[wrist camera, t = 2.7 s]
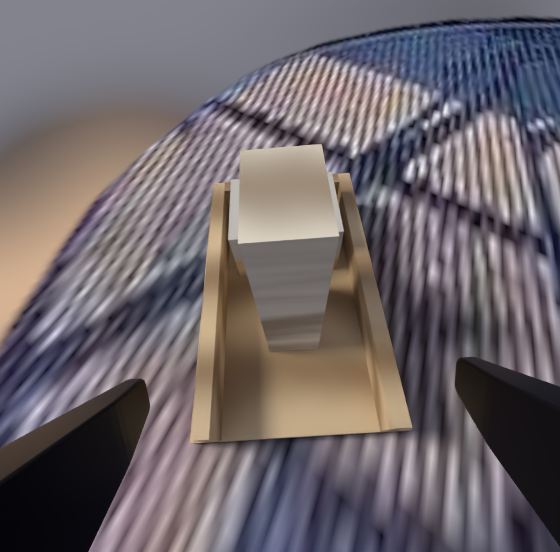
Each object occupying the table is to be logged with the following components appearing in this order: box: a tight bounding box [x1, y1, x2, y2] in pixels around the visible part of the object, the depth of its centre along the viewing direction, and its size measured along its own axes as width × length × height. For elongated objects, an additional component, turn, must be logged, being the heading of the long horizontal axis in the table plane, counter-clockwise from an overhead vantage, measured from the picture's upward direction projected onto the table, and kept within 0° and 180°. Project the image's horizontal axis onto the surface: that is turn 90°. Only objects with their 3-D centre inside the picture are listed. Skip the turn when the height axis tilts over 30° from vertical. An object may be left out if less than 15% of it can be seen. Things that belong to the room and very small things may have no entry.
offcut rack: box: [190, 173, 413, 444], centre depth 23 cm, size 20×14×4 cm
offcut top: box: [228, 172, 344, 260], centre depth 23 cm, size 6×8×2 cm
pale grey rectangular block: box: [238, 144, 339, 352], centre depth 17 cm, size 5×4×13 cm
